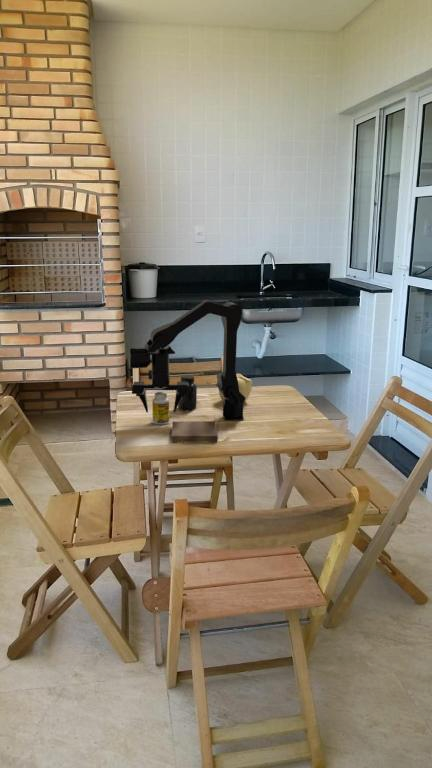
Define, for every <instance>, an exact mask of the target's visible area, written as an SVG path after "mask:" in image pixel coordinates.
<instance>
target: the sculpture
mask: <svg viewBox="0 0 432 768" xmlns="http://www.w3.org/2000/svg"><path fill="white" fill-rule="evenodd" d="M236 376H237V379H238V385H239V392H240V393H241V394H242V395H243V396H244V397H245V401H244V403H245V402H246V401H247V400H248V399H249V396H250V394H251V392H252V389H253V386H252V385H253V381H252V380H251V379H250V378H247V377H245V376H243V375H242V374H241V373H236ZM218 394H219V397H220V399H221V400H222V401H223V403H225V399H226V398H225V397H224V395H223V394H222V393H221V392H220V391H219V390H218Z"/></svg>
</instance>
